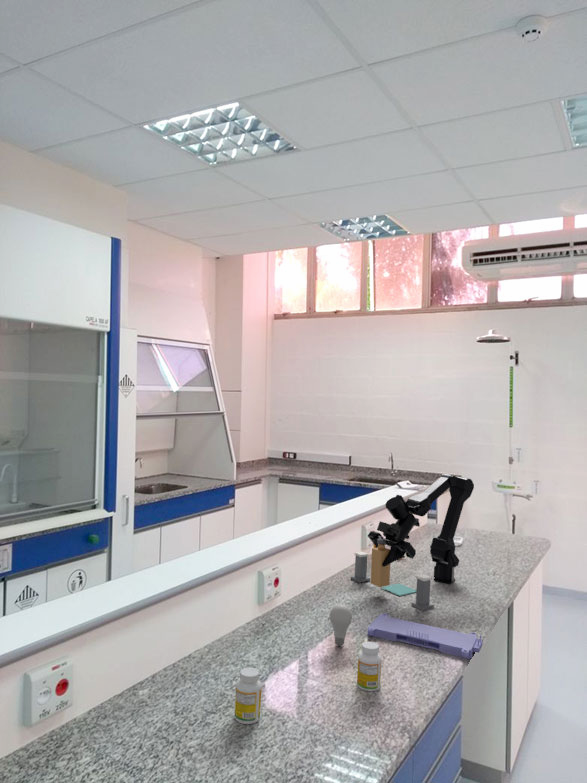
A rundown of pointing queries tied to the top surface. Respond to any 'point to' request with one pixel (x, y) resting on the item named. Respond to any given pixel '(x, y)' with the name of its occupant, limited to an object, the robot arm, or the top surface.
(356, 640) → the top surface
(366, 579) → the post right
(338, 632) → the lightbulb
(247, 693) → the supplement bottle
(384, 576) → the bottle
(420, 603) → the post
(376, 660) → the supplement bottle
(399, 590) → the mat
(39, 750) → the top surface
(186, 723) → the top surface
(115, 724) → the top surface
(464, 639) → the computer part
